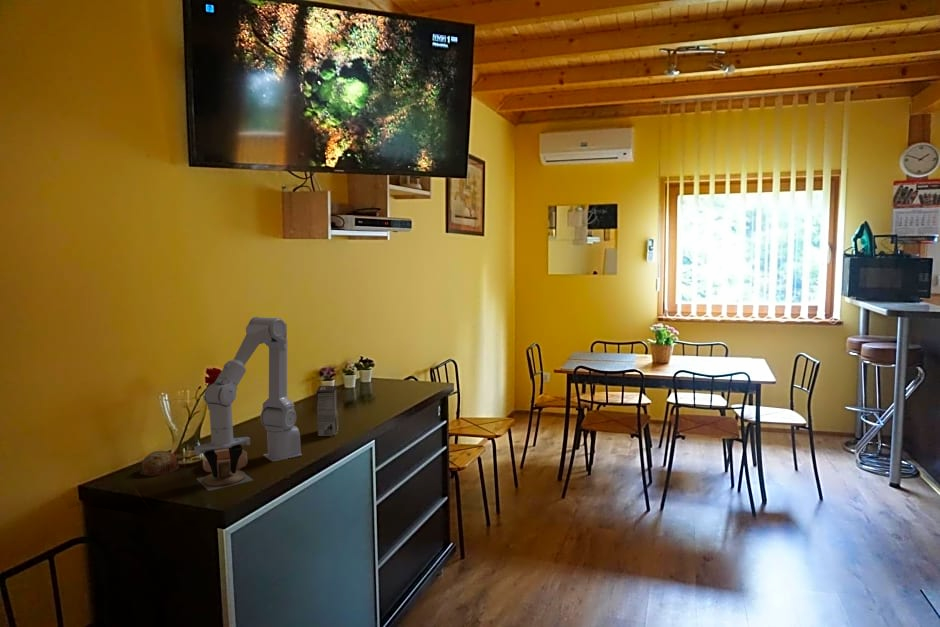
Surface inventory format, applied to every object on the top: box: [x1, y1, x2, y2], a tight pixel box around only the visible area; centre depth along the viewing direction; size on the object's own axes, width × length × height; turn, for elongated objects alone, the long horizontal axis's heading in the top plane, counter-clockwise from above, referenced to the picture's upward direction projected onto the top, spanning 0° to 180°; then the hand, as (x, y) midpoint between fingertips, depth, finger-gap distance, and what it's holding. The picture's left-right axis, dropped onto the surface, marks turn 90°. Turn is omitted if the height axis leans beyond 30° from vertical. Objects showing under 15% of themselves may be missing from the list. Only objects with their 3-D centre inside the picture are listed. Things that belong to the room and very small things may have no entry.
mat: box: [195, 468, 254, 492], centre depth 175 cm, size 12×12×1 cm
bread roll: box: [140, 449, 180, 477], centre depth 184 cm, size 10×10×8 cm
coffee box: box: [316, 385, 339, 436], centre depth 220 cm, size 9×6×16 cm
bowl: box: [202, 448, 248, 473], centre depth 187 cm, size 12×12×4 cm
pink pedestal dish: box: [203, 462, 246, 487], centre depth 175 cm, size 11×11×4 cm
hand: (224, 474), depth 175 cm, fingers open, 4 cm apart
